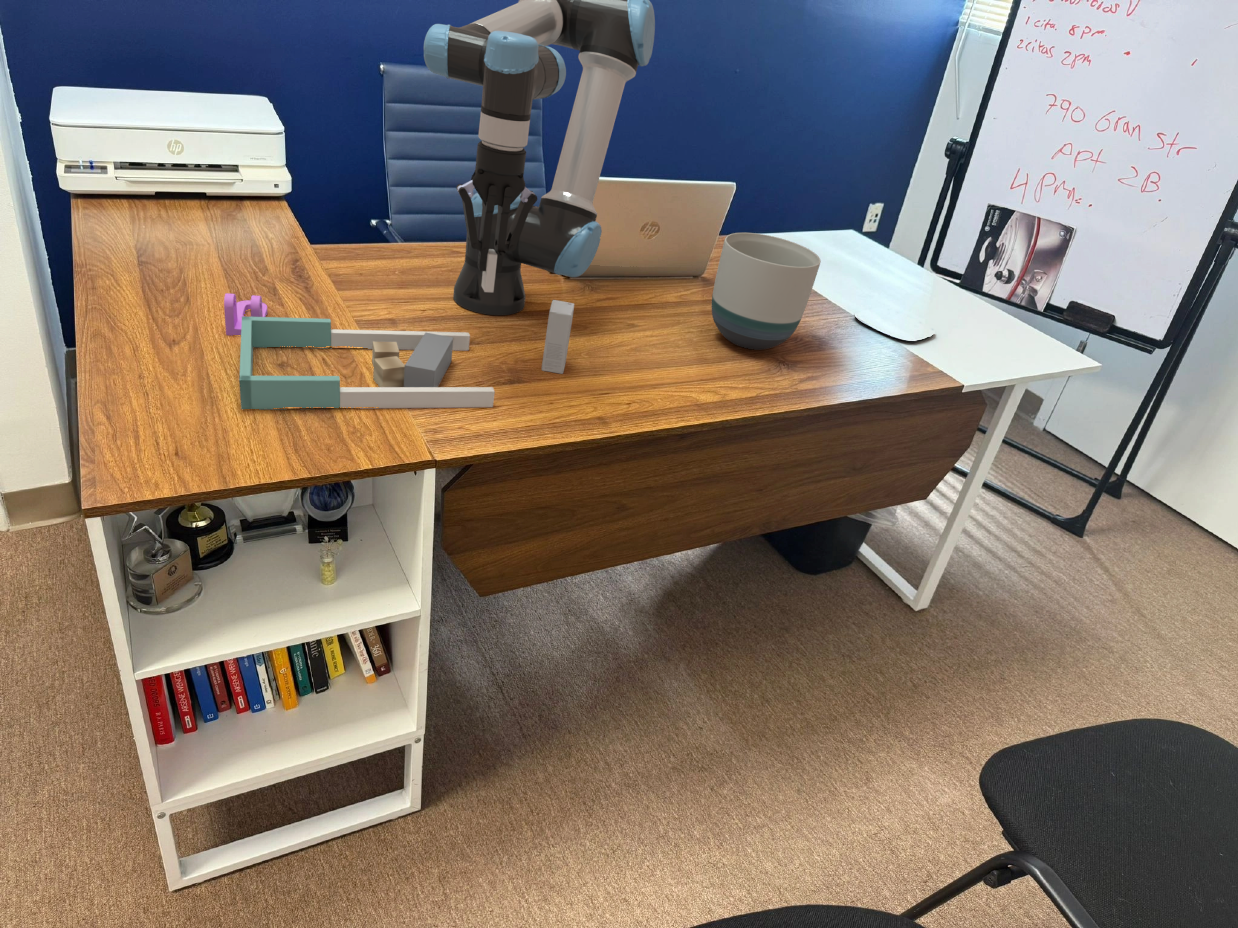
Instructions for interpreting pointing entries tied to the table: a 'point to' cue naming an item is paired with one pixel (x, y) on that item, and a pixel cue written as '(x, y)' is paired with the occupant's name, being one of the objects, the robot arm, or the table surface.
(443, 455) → the table surface
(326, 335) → the bay
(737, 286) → the planter
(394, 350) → the chip
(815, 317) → the table surface
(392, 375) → the chip
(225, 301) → the bracket
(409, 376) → the block
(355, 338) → the channel
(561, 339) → the skincare box
